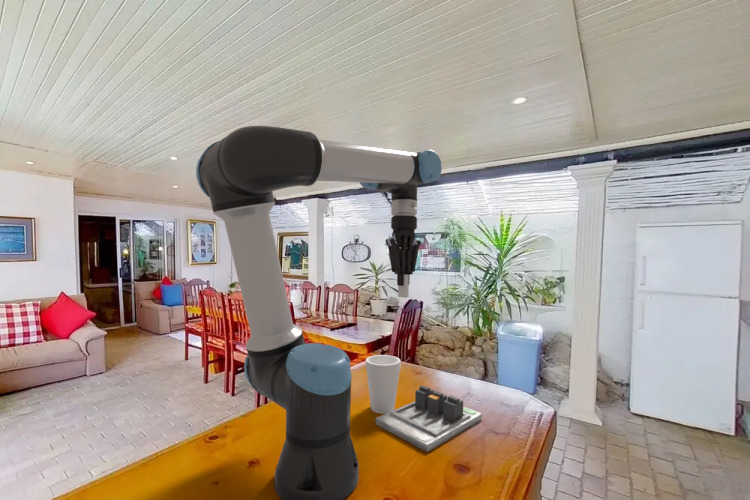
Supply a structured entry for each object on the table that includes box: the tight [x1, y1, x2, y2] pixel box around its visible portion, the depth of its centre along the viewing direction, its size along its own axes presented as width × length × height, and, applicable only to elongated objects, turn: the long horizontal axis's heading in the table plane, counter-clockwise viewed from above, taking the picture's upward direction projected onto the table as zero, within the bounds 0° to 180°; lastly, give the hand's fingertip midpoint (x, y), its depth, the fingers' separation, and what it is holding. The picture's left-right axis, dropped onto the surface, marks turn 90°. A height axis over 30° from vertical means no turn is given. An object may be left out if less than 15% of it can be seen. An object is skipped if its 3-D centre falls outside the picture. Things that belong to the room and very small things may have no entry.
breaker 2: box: [428, 390, 448, 416], centre depth 88 cm, size 4×3×5 cm
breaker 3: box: [443, 395, 464, 422], centre depth 85 cm, size 4×3×5 cm
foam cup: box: [365, 354, 402, 415], centre depth 93 cm, size 10×9×13 cm
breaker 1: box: [414, 385, 435, 409], centre depth 91 cm, size 4×3×5 cm
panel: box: [375, 401, 483, 453], centre depth 85 cm, size 22×16×2 cm
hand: (403, 296), depth 100 cm, fingers closed
